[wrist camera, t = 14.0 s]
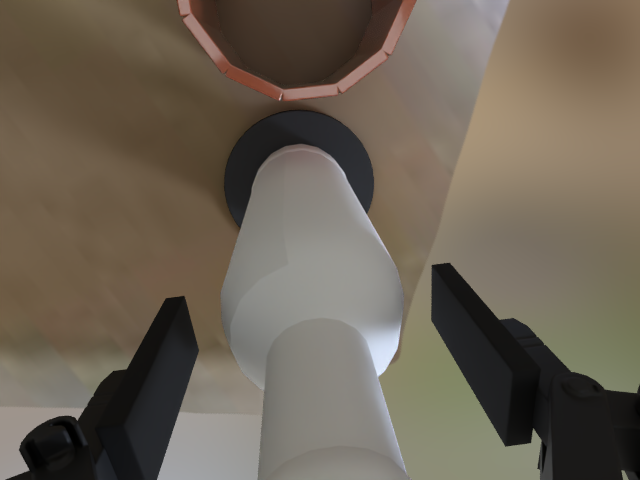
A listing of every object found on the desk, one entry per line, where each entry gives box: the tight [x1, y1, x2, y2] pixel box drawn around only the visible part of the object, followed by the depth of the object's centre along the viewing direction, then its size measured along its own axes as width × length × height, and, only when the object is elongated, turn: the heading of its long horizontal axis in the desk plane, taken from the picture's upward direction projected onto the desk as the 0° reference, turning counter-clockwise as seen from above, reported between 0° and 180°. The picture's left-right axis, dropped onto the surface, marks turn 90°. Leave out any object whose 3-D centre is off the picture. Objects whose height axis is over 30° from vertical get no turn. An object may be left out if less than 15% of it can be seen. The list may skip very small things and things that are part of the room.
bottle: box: [220, 144, 412, 480], centre depth 21 cm, size 8×8×30 cm
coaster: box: [224, 110, 374, 228], centre depth 35 cm, size 13×13×1 cm
